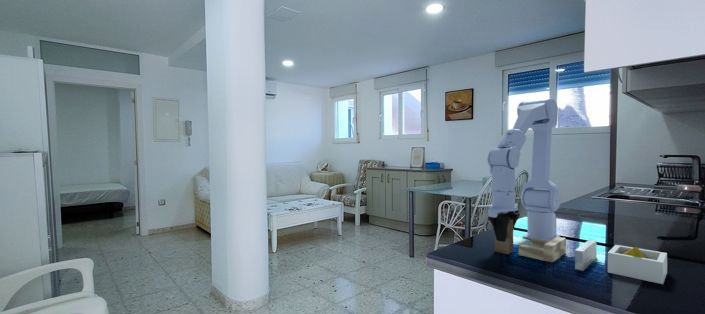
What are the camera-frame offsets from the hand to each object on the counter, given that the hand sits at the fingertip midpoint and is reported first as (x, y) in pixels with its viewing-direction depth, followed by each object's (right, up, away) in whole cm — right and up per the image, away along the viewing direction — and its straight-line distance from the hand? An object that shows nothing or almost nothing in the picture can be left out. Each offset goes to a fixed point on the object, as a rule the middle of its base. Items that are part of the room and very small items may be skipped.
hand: (504, 239), depth 88 cm
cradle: (+9, -3, -3) cm, 10 cm away
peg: (0, -3, 0) cm, 3 cm away
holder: (+22, -3, -16) cm, 28 cm away
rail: (+15, -3, -10) cm, 19 cm away
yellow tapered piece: (+22, -4, -16) cm, 28 cm away
